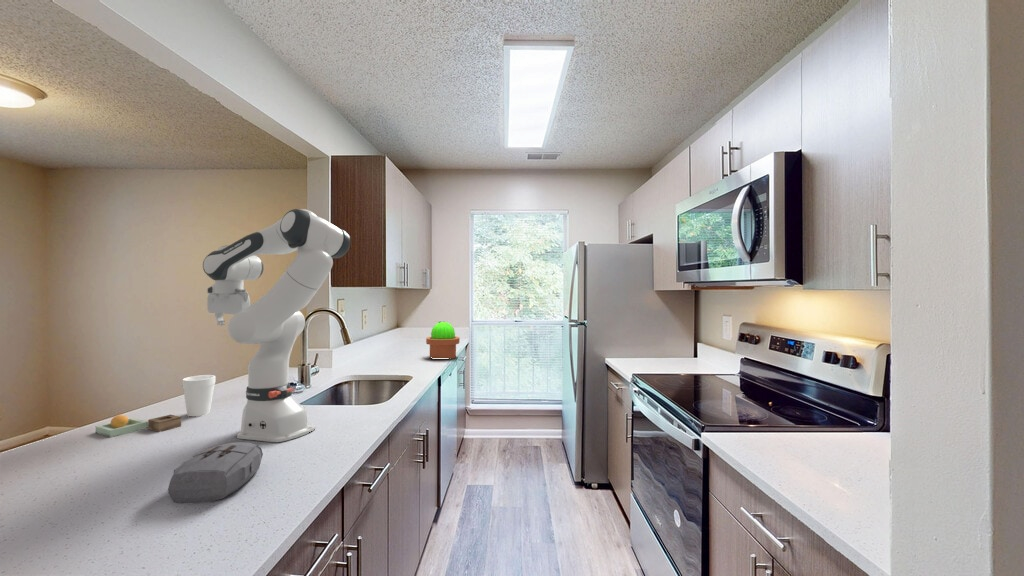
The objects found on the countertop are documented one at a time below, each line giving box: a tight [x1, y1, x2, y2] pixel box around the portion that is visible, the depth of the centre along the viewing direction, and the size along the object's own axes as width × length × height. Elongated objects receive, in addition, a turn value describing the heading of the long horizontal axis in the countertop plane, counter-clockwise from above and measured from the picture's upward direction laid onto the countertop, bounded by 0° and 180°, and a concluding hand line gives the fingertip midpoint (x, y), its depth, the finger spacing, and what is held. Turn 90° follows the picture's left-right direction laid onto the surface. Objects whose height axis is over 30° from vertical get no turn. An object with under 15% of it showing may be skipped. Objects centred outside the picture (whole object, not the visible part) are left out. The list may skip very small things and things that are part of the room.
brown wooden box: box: [147, 414, 182, 433], centre depth 128 cm, size 6×6×3 cm
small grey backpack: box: [167, 441, 264, 504], centre depth 93 cm, size 15×8×20 cm
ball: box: [110, 414, 129, 428], centre depth 126 cm, size 4×4×4 cm
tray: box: [95, 417, 148, 438], centre depth 126 cm, size 9×9×2 cm
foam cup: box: [181, 374, 216, 417], centre depth 143 cm, size 10×9×13 cm
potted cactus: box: [425, 321, 460, 360], centre depth 267 cm, size 22×22×25 cm
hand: (228, 325), depth 149 cm, fingers open, 8 cm apart
